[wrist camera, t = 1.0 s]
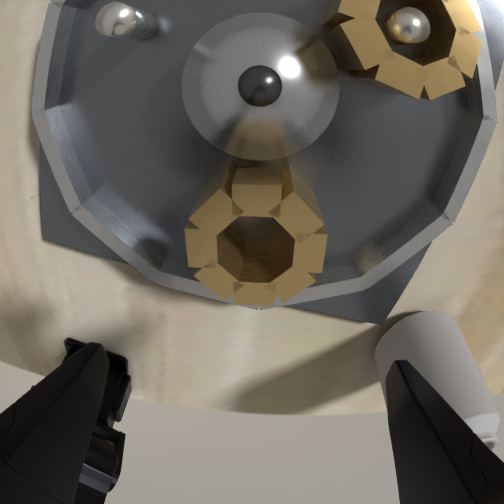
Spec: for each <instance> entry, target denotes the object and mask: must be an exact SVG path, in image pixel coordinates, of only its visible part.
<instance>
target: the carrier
mask: <svg viewBox="0 0 504 504" xmlns="http://www.w3.org/2000/svg"><path fill="white" fill-rule="evenodd" d="M50 1H51V2H52V3H49V5H48V9H47V13H46V17H45V21H44V26H43V31H42V35H41V41H40V46H39V51H38V57H37V64H36V71H35V78H34V86H33V96H32V107H31V113H33V114H32V118H33V121H34V124H35V127H36V130H37V133H38V135H39V138H40V203H41V220H42V233H43V239H46V240H49V241H52V242H55V243H58V244H62V245H65V246H68V247H71V248H75V249H78V250H81V251H85V252H88V253H91V254H95V255H98V256H101V257H105V258H108V259H112V260H115V261H119V262H122V263H126V264H129V265H131V266H132V267H134V268H135V269H136V270H137V271H139V272H140V273H141V274H142V275H144V276H145V277H146V278H147V279H149V280H150V281H151V282H154V281H155V284H158V285H161V286H165V287H169V288H173V289H176V290H180V291H184V292H188V293H191V294H195V295H199V296H203V297H207V298H211V299H215V300H219V301H223V302H227V303H231V304H234V293H233V294H232V295H231V296H229V297H228V298H227V299H225V300H223V299H221V298H220V297H219V296H218V295H216V294H215V293H214V292H213V291H211V290H210V289H209V288H208V287H207V286H205V285H204V284H203V283H202V282H200V281H199V280H198V279H197V278H196V277H194V273H195V270H196V267H188V258H187V249H186V238H185V227H186V225H187V223H188V221H189V219H188V218H189V217H190V215H191V213H192V211H193V209H194V207H195V205H196V203H197V201H198V200H199V198H200V196H201V194H202V192H203V190H204V188H205V187H206V186H207V185H208V184H209V183H210V182H211V181H212V180H213V179H214V178H215V177H216V176H217V175H218V174H219V173H220V172H221V171H222V170H223V169H224V168H225V167H227V166H228V165H229V164H230V163H231V162H232V163H233V164H234V165H235V166H236V167H238V165H239V162H240V159H244V158H239V157H236V156H233V155H230V154H228V153H226V152H224V151H222V150H220V149H218V148H217V147H215V146H213V145H212V144H211V143H210V142H208V141H207V140H206V139H205V138H204V137H203V136H202V135H201V134H200V133H199V132H198V130H197V129H196V128H195V126H194V125H193V123H192V122H191V120H190V118H189V116H188V114H187V111H186V109H185V106H184V102H183V97H182V75H183V69H184V66H185V63H186V60H187V58H188V56H189V54H190V52H191V50H192V49H193V47H194V46H195V44H196V43H197V42H198V40H199V39H200V38H201V37H202V36H203V35H204V34H205V33H206V32H207V31H209V30H210V29H211V28H213V27H214V26H216V25H217V24H219V23H220V22H222V21H225V20H227V19H229V18H232V17H235V16H238V15H242V14H247V13H259V12H261V13H273V14H278V15H282V16H285V17H288V18H291V19H293V20H296V21H298V22H300V23H302V24H303V25H305V26H306V27H308V28H309V29H311V30H312V31H313V32H314V33H315V34H316V35H317V36H318V37H319V38H320V39H321V40H322V41H323V42H324V43H325V45H326V46H327V48H328V49H329V51H330V52H331V55H332V57H333V59H334V61H335V64H336V67H337V70H338V75H339V85H340V91H339V100H338V104H337V108H336V111H335V113H334V115H333V118H332V120H331V121H330V123H329V125H328V126H327V128H326V129H325V130H324V132H323V133H322V134H321V135H320V136H319V137H318V138H317V139H316V140H315V141H314V142H313V143H311V144H310V145H309V146H307V147H306V148H304V149H302V150H301V151H299V152H297V153H294V154H292V155H290V156H286V157H283V158H279V159H273V160H280V169H281V170H283V169H284V168H285V167H286V166H287V165H288V164H289V165H290V166H291V167H292V168H293V169H294V170H295V171H296V172H297V173H298V174H299V175H300V176H301V178H302V179H303V180H304V181H305V182H306V183H307V184H308V185H309V186H310V187H311V188H312V190H313V191H314V193H315V196H316V199H317V202H318V205H319V208H320V211H321V215H322V218H323V221H324V224H325V227H326V231H327V234H328V236H327V243H326V250H325V257H324V263H323V269H322V273H315V276H316V282H315V283H313V284H312V285H310V286H309V287H307V288H306V289H305V290H303V291H302V292H300V293H299V294H297V295H296V296H294V297H293V298H291V299H290V300H288V301H287V302H285V303H283V302H282V301H281V300H280V299H279V298H277V297H276V296H275V301H274V306H261V305H240V304H235V305H239V306H243V307H248V308H252V309H256V310H258V308H260V310H263V309H268V308H274V307H280V306H286V305H290V306H294V307H299V308H303V309H308V310H312V311H317V312H321V313H326V314H331V315H335V316H340V317H345V318H350V319H354V320H359V321H364V322H369V323H374V324H379V325H382V324H383V323H384V321H385V320H386V318H387V317H388V315H389V313H390V312H391V310H392V309H393V307H394V306H395V304H396V302H397V301H398V299H399V298H400V296H401V294H402V293H403V291H404V290H405V288H406V286H407V285H408V283H409V281H410V280H411V278H412V276H413V274H414V273H415V271H416V269H417V268H418V266H419V264H420V262H421V260H422V259H423V257H424V255H425V253H426V251H427V250H428V248H429V246H430V244H431V242H432V240H434V239H435V238H436V237H437V236H439V235H440V234H441V233H442V232H444V231H445V230H446V229H447V228H448V227H450V226H451V225H452V222H454V221H455V219H456V217H457V215H458V213H459V211H460V209H461V207H462V205H463V203H464V201H465V199H466V197H467V195H468V192H469V190H470V188H471V186H472V184H473V181H474V179H475V177H476V174H477V172H478V170H479V167H480V165H481V162H482V160H483V158H484V155H485V153H486V150H487V147H488V145H489V142H490V140H491V137H492V134H493V131H494V129H495V126H496V123H497V121H495V119H497V110H496V99H495V89H496V85H497V82H498V78H499V75H500V71H501V68H502V64H503V60H504V0H468V2H469V4H470V6H471V8H472V10H473V12H474V14H475V17H476V19H477V21H478V23H479V25H480V28H481V30H479V31H475V32H471V33H472V34H474V35H475V36H476V37H478V38H479V39H481V40H482V45H481V49H480V53H479V57H478V60H477V64H476V68H475V71H474V74H473V78H472V79H471V78H464V77H463V80H464V82H465V85H466V86H465V87H462V88H460V89H457V90H454V91H452V92H449V93H447V94H444V95H442V96H439V97H437V98H435V99H432V100H427V99H423V98H419V100H418V99H415V98H411V97H407V96H403V95H398V94H394V93H390V92H386V91H384V90H381V89H379V88H377V87H374V86H372V85H369V84H367V83H364V82H362V81H359V80H357V79H354V78H352V77H351V75H352V72H353V70H343V69H342V68H341V66H340V64H339V62H338V60H337V58H336V57H335V55H334V53H333V51H332V50H331V48H330V46H329V44H328V43H327V41H326V39H325V38H324V35H325V34H326V33H328V32H329V31H331V30H332V29H330V28H327V27H324V26H322V24H323V21H324V18H325V15H326V12H327V8H328V5H329V2H330V0H50ZM375 20H376V22H377V24H378V25H379V27H380V29H381V31H382V33H383V35H384V36H385V38H386V40H387V42H388V44H389V46H390V48H391V50H392V51H393V52H395V53H397V54H399V55H401V56H403V57H406V58H411V57H412V54H413V51H414V47H415V44H416V43H418V42H423V41H424V40H426V39H427V38H428V36H429V34H430V24H429V21H428V19H427V17H426V16H425V15H424V14H423V13H422V12H421V11H419V10H418V9H416V8H413V7H405V8H402V9H400V8H398V7H396V6H393V5H391V4H389V3H387V2H385V1H382V0H381V1H380V4H379V7H378V11H377V14H376V17H375ZM451 221H452V222H451ZM229 225H230V226H231V227H232V228H233V229H234V230H235V231H236V232H237V233H238V234H239V235H240V236H242V237H243V238H244V239H245V240H251V241H271V240H273V239H274V238H275V237H276V236H278V235H279V234H280V233H281V232H283V231H284V230H285V229H284V228H283V227H282V226H281V225H280V224H279V223H278V222H277V221H276V220H275V219H274V218H273V217H256V216H238V217H237V218H236V219H235V220H234V221H233V222H232V223H230V224H229Z"/></svg>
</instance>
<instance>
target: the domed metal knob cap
mask: <svg viewBox="0 0 504 504" xmlns="http://www.w3.org/2000/svg"><path fill="white" fill-rule="evenodd" d="M339 91H340V85H339V75H338V70H337V67H336V64H335V61H334V59H333V57H332V55H331V52H330V51H329V49H328V48H327V46H326V45H325V43H324V42H323V41H322V40H321V39H320V38H319V37H318V36H317V35H316V34H315V33H314V32H313V31H312V30H311V29H309V28H308V27H306V26H305V25H303V24H302V23H300V22H298V21H296V20H293V19H291V18H288V17H285V16H282V15H278V14H273V13H261V12H259V13H247V14H242V15H238V16H235V17H232V18H229V19H227V20H225V21H222V22H220V23H219V24H217V25H216V26H214V27H213V28H211V29H210V30H209V31H207V32H206V33H205V34H204V35H203V36H202V37H201V38H200V39H199V40H198V42H197V43H196V44H195V46H194V47H193V49H192V50H191V52H190V54H189V56H188V58H187V60H186V63H185V66H184V69H183V75H182V97H183V102H184V106H185V109H186V111H187V114H188V116H189V118H190V120H191V122H192V123H193V125H194V126H195V128H196V129H197V130H198V132H199V133H200V134H201V135H202V136H203V137H204V138H205V139H206V140H207V141H208V142H210V143H211V144H212V145H213V146H215V147H217V148H218V149H220V150H222V151H224V152H226V153H228V154H230V155H233V156H236V157H239V158H244V159H249V160H273V159H279V158H283V157H286V156H290V155H292V154H294V153H297V152H299V151H301V150H302V149H304V148H306V147H307V146H309V145H310V144H311V143H313V142H314V141H315V140H316V139H317V138H318V137H319V136H320V135H321V134H322V133H323V132H324V130H325V129H326V128H327V126H328V125H329V123H330V121H331V120H332V118H333V115H334V113H335V111H336V108H337V104H338V100H339Z"/></svg>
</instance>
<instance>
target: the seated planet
mask: <svg viewBox="0 0 504 504" xmlns="http://www.w3.org/2000/svg"><path fill="white" fill-rule="evenodd" d="M380 1H381V0H330V2H329V5H328V8H327V12H326V15H325V18H324V21H323V24H322V26H324V27H327V28H330V29H332V30H331V31H329V32H328V33H326V34H325V35H324V38H325V39H326V41H327V43H328V44H329V46H330V48H331V50H332V51H333V53H334V55H335V57H336V58H337V60H338V62H339V64H340V66H341V68H342V69H343V70H353V72H352V75H351V77H352V78H354V79H357V80H359V81H362V82H364V83H367V84H369V85H372V86H374V87H377V88H379V89H381V90H384V91H386V92H390V93H394V94H398V95H403V96H407V97H411V98H415V99H418V100H419V98H423V99H427V100H432V99H435V98H437V97H439V96H442V95H444V94H447V93H449V92H452V91H454V90H457V89H460V88H462V87H465V86H466V85H465V82H464V80H463V77H464V78H471V79H472V78H473V74H474V71H475V68H476V64H477V60H478V57H479V53H480V49H481V45H482V40H481V39H479V38H478V37H476V36H475V35H474V34H472V33H471V32H475V31H479V30H481V28H480V25H479V23H478V21H477V19H476V17H475V14H474V12H473V10H472V8H471V6H470V4H469V2H468V0H382V1H385V2H387V3H389V4H391V5H393V6H396V7H398V8H400V9H402V8H405V7H413V8H416V9H418V10H419V11H421V12H422V13H423V14H424V15H425V16H426V17H427V19H428V21H429V24H430V34H429V36H428V38H427V39H426V40H424V41H423V42H418V43H416V44H415V47H414V51H413V54H412V57H411V58H406V57H403V56H401V55H399V54H397V53H395V52H393V51H392V50H391V48H390V46H389V44H388V42H387V40H386V38H385V36H384V35H383V33H382V31H381V29H380V27H379V25H378V24H377V22H376V20H375V17H376V14H377V11H378V7H379V4H380Z"/></svg>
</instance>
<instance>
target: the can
mask: <svg viewBox="0 0 504 504" xmlns="http://www.w3.org/2000/svg"><path fill="white" fill-rule="evenodd" d="M374 358H375V362H376V366H377V370H378V374H379V378H380V382H381V386H382V390H383V394H384V399H385V403H386V407H387V398H386V386H385V379H386V375H387V373H388V371H389V369H390V367H391V365H392V363H393V362H394V361H395V360H402V359H405V360H408V361H409V362H410V363H411V364H412V365H413V366H414V368H415V369H416V370H417V371H418V372H419V373H420V374H421V375H422V376H423V377H424V378H425V379H426V380H427V381H428V382H429V383H430V384H431V386H432V387H433V388H434V389H435V390H436V391H437V392H438V393H439V394H440V395H441V396H442V397H443V398H444V400H445V401H446V402H447V403H448V404H449V405H450V406H451V407H452V408H453V409H454V410H455V412H456V413H457V414H458V415H459V416H460V417H461V418H462V419H463V420H464V421H465V423H466V424H467V425H468V426H469V427H470V428H471V429H472V430H473V433H475V434H476V435H477V436H478V437H479V438H480V439H481V440H482V441H483V442H484V443H485V445H486V446H487V447H488V448H489V449H490V450H491V451H493V450H494V449H495V447H496V446H497V444H498V442H499V441H498V438H497V437H495V433H496V430H497V428H498V425H499V423H500V416H499V413H498V411H497V408H496V405H495V403H494V401H493V398H492V396H491V394H490V391H489V389H488V387H487V384H486V382H485V380H484V378H483V376H482V373H481V371H480V369H479V367H478V365H477V363H476V361H475V359H474V357H473V354H472V352H471V350H470V348H469V346H468V344H467V343H466V341H465V339H464V337H463V335H462V333H461V331H460V329H459V327H458V325H457V323H456V322H455V320H454V318H453V317H452V316H450V315H449V314H447V313H446V312H440V311H423V312H416V313H413V314H411V315H408V316H406V317H404V318H402V319H401V320H399V321H397V322H396V323H395V324H394V325H393V326H392V327H391V328H390V329H388V331H387V332H386V333H385V334H384V335H383V336H382V338H381V339H380V341H379V343H378V344H377V346H376V349H375V353H374ZM387 412H388V411H387Z"/></svg>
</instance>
